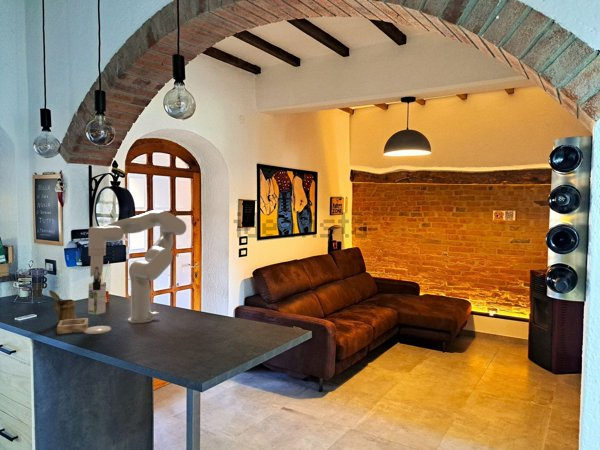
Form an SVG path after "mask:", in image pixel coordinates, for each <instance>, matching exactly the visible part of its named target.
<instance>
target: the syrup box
mask: <svg viewBox="0 0 600 450" xmlns="http://www.w3.org/2000/svg"><path fill="white" fill-rule="evenodd" d="M106 286H107V284H106V282H105V283H104V282H101V283H100V290H93V282H89V283H88V301H87V303H88V306H87V307H88V310H87V311H88V312H87V313H88V314H92V315H101V314H105V313H106V306H107V305H106V301H107V300H106V299H107V298H106V295H107V294H106V292H107V291H106V290H107V289H106V288H107V287H106Z"/></svg>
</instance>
